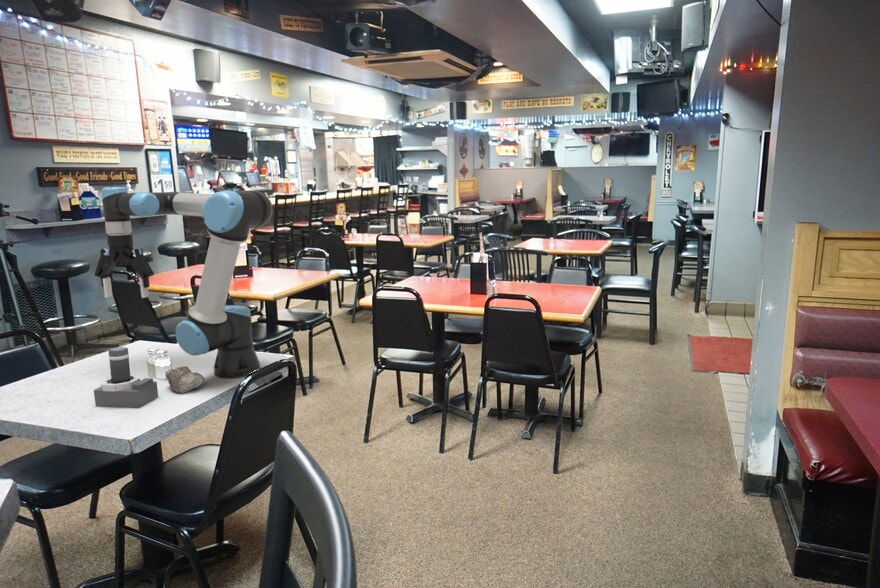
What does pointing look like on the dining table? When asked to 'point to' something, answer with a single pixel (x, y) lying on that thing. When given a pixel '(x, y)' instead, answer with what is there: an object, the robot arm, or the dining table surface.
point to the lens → (119, 365)
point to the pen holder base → (126, 393)
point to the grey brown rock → (183, 379)
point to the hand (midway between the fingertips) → (127, 297)
